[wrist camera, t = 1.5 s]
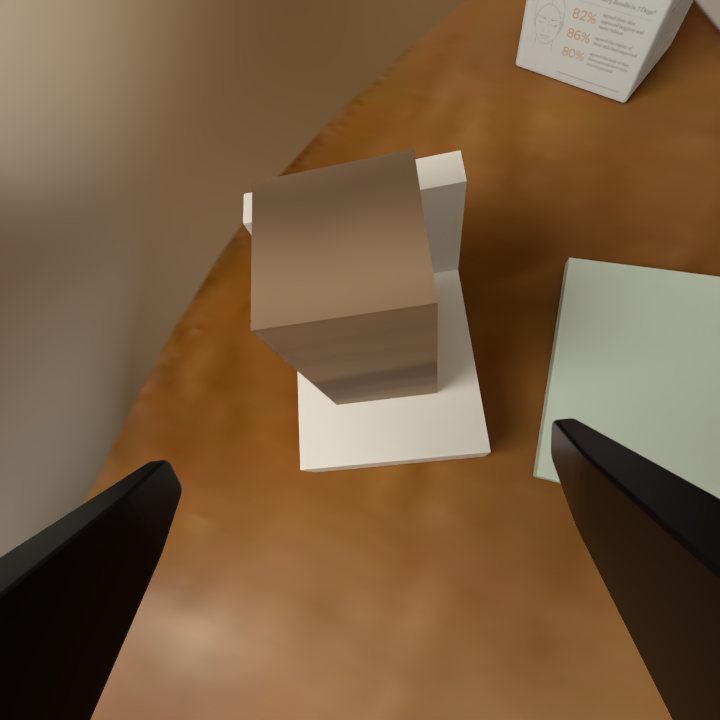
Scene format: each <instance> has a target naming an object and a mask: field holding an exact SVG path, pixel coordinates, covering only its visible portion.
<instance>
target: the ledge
mask: <svg viewBox="0 0 720 720" xmlns="http://www.w3.org/2000/svg"><path fill="white" fill-rule="evenodd" d="M415 160H416V166H417V173H418V179H419V186H420V192H421V198H422V205H423V211H424V218H425V224H426V230H427V237H428V243H429V250H430V256H431V262H432V269H433V275H434V282H435V288H436V294H437V301H438V342H437V393H434V394H425V395H417V396H408V397H400V398H391V399H383V400H374V401H366V402H357V403H349V404H340V405H336V404H335V403H334V402H333V401H332V400H331V399H329V398H328V397H327V396H326V395H325V394H324V393H322V392H321V391H320V390H319V389H318V388H317V387H315V386H314V385H313V384H312V383H311V382H310V381H308V380H307V379H306V378H305V377H304V376H303V375H302V374H300V373H299V372H298V404H299V439H300V470H303V471H310V472H323V471H334V470H345V469H355V468H366V467H377V466H388V465H398V464H409V463H420V462H431V461H441V460H452V459H463V458H473V457H484V456H486V455H487V454H489V453H490V452H491V450H490V445H489V439H488V434H487V428H486V422H485V417H484V411H483V406H482V400H481V395H480V389H479V384H478V378H477V372H476V367H475V361H474V356H473V350H472V345H471V339H470V333H469V328H468V322H467V317H466V311H465V306H464V300H463V295H462V289H461V283H460V278H459V272H458V265H459V255H460V244H461V234H462V224H463V214H464V204H465V194H466V183H467V180H466V175H465V170H464V165H463V160H462V156H461V151H455V152H450V153H445V154H440V155H435V156H430V157H425V158H420V159H415ZM243 224H244V225H245V227H246V228H247V230H248V231H249V232H250V234H251V235H252V193H247V194H244V213H243Z"/></svg>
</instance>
